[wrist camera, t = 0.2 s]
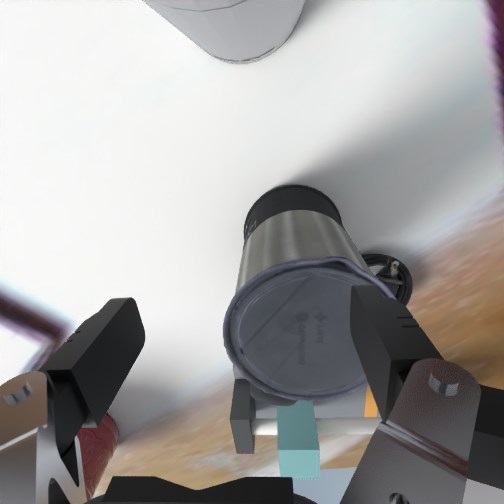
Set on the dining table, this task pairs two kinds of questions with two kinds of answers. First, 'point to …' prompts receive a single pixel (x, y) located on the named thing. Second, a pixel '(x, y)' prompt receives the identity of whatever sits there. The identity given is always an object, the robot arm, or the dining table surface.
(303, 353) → the milk frother
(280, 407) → the sleeve
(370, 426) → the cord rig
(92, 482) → the canister
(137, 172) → the dining table surface
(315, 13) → the dining table surface
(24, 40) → the dining table surface
